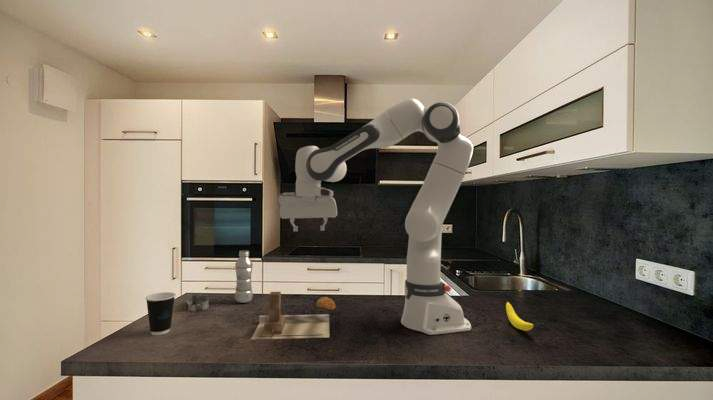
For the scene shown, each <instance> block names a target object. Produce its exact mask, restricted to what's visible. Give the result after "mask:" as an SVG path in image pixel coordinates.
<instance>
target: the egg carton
mask: <svg viewBox="0 0 713 400" xmlns="http://www.w3.org/2000/svg"><path fill="white" fill-rule="evenodd" d="M209 299H210V296H209V295H208V294H206V295H204V294H189V295H188V297H187V300H186V303H187V305H188V308H187V310H188V311H191V312H195V311H197V310H202V311H204V310H206V309H209V306H210V305H209V301H210V300H209Z"/></svg>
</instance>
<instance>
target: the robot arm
mask: <svg viewBox="0 0 713 400" xmlns="http://www.w3.org/2000/svg"><path fill="white" fill-rule="evenodd" d="M416 132H419V133H420V134H421V135H422V136H424V137H425V138H426V139H427V140H428V141H430V142H432V143H435V144H437V151H436V153H435V154H436V155H434V158H433V160H432V163H431V165H430V167H429V170H428V172H427V174H426V176H425V178H424V181H423V183H422V186H421V188H420V189H419V191H418V193H417V194H416V197H415V199H414V201H413V202H412V204H411V207H410V208H409V211H408V213H407V215H406V218H405V222H404V227H405V232H406V233H407V235H408V242H407V243H408V245H407V254H406V277H405V278H406V279H405V281H404V297H405V301H404V305H403V306H404V307H403V313H402V316H401V320H400V323H401V325H403V326H404V327H405V328H408V329H410V330H413V331H417V332H421V333H424V334H427V335H432V336H433V335H441V334H451V333H459V332H468V331H471V330H472V324H471V323H470V321H469V320H468V319H467V318H465V317H464V311H463V309H462V305H460V304H459V303H458V302H457V301H456V300H455V299H453V297H451V296H450V295H449V294H448V293H449V292H451V291H452V287H451V286H450V285H449V284H447V283H444V282H442V281H441V265H442V264H441V263H442V262H441V261H442V260H441V259H442V236H443V231H442V230H443V224H444V221H445V219H446V218H447V215H448V213H449V211H450V208H451V206H452V204H453V202H454V200H455V198H456V195H457V193H458V191H459V188H460V187H461V185H462V182H463V180H464V178H465V175H466V174H467V171H468V168H469V166H470V162H471V159H472V156H473V151H474V145H473V143H472V142H471V140H469V138H467V137H465V136H463V135H461V123H460V115H459V112H458V110H457V109H456V107H455V106H454V105H453V104H451V103H448V102H445V101H439V102H435V103H433V104H432V105H430V106H429V107H428V108H426V107H425V106H424V105H423V104H422V103H421V102H420V101H419V100H418V99H416V98H413V97H409V98H407V99H404V100H402V101H400V102H398V103H396V104H395V105H393V106H391V107H390V108H387V110H385V111H384V112H382V113H380V114H379V115H378V116H376V117H375V118H373V119H372V120H371V121H370V122H368V123H366V124H365V125H363V126H362V127H360V128H358V129H357V130H355V131H353V132H352V133H350V134H348V135H347V136H345V137H343V138H342V139H340V140H339V141H337V142H335V143H333V144H332V145H330V146H327V147H322V148H320V147H318V146H316V145H306V146H302V147H300V148H299V149H298V150H297V151H296V155H295V167H294V169H295V170H294V171H295V175H296V181H295V191H294V192H283V193H280V194H279V196H278V204H279V205H280V206H279V217H280V219H283V220H285V219H289V222H290V224H291V226H292V227H293V228H292V229H293V232H298V231H299V229H298V228H299V226H298V225H295V223H294V222H295V219H316V218H318V219H321V218H323V224H322V225H320V231H321V232H322V231H325V226H326V225H327V224H328V223H327V222H328V218H336V217H337V216H338V208H337V203H336V199H335V198H334V197H333V196H334V191H333V190H331V189H328V188H326V187H322V186H321V185H322V184H321V183H322V181H324V182H331V183H335V182H340V181H341V180H342V179H344V177H346V174H347V171H348V168H347V164H346V161H348V160H349V159H351V158H352V157H354V156H356V155H357V154H359V153H360V152H362V151H365V150H369V149H387V148H390V147H391V146H394V145H396V144H398V143H399V142H401V141H402V140H405V139H406V138H407V137H408V136H410V135H412V134H413V133H416ZM446 292H448V293H446Z"/></svg>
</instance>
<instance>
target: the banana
mask: <svg viewBox="0 0 713 400" xmlns="http://www.w3.org/2000/svg"><path fill="white" fill-rule="evenodd" d="M505 302H506V304H505V310H506V311H505V312H506V315H507V318H508V320H509V322H510V324H511V325H512V326H513V327H514V328H516V329H517V330H521V331H524V332H528V331H530V330H532V329H533V328H534V324H533V323H530V322H526V321H524V320H523V319H521V318H520V317H519V316H518V315H517V313H516V312H515V309H514V307H513V306H512V304H511V303H510V302H509V300H505Z"/></svg>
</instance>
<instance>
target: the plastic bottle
mask: <svg viewBox="0 0 713 400" xmlns="http://www.w3.org/2000/svg"><path fill="white" fill-rule="evenodd" d="M238 256H239V258H238V259H237V261H236V262H235V265H234V266H235V267H234V268H235V274H236V287H235V292H234V293H235V294H234V298H235V299H234V300H235V301H236V303H240V304H241V303H243V304H245V303H250V302H251V301H252V299H253V289H252V272H253V265H254V264H253V261H252V260H251V258H250V257H249V256H250V251H249V250H246V249H245V250H239V253H238Z"/></svg>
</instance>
